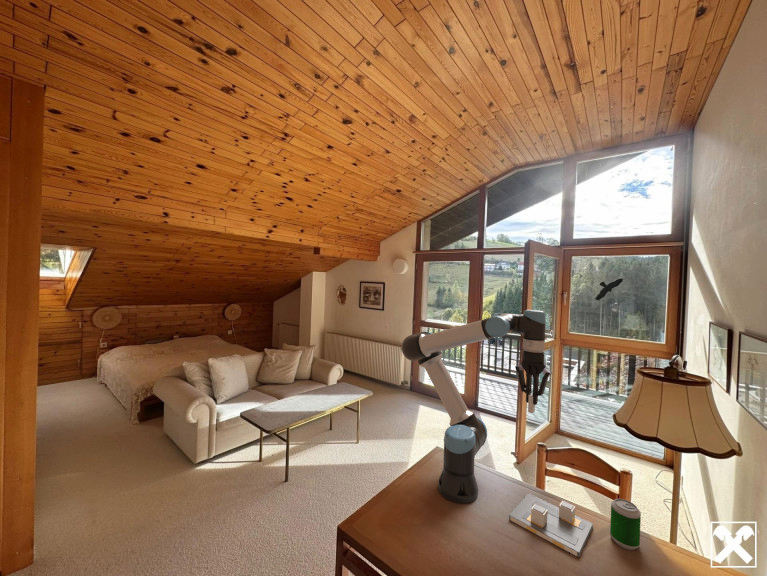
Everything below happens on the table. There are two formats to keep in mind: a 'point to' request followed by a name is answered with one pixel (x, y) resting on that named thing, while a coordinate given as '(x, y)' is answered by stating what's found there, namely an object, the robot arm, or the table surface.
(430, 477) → the table surface
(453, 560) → the table surface
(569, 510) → the slider far
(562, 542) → the switch board
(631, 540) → the soda can
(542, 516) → the slider near
